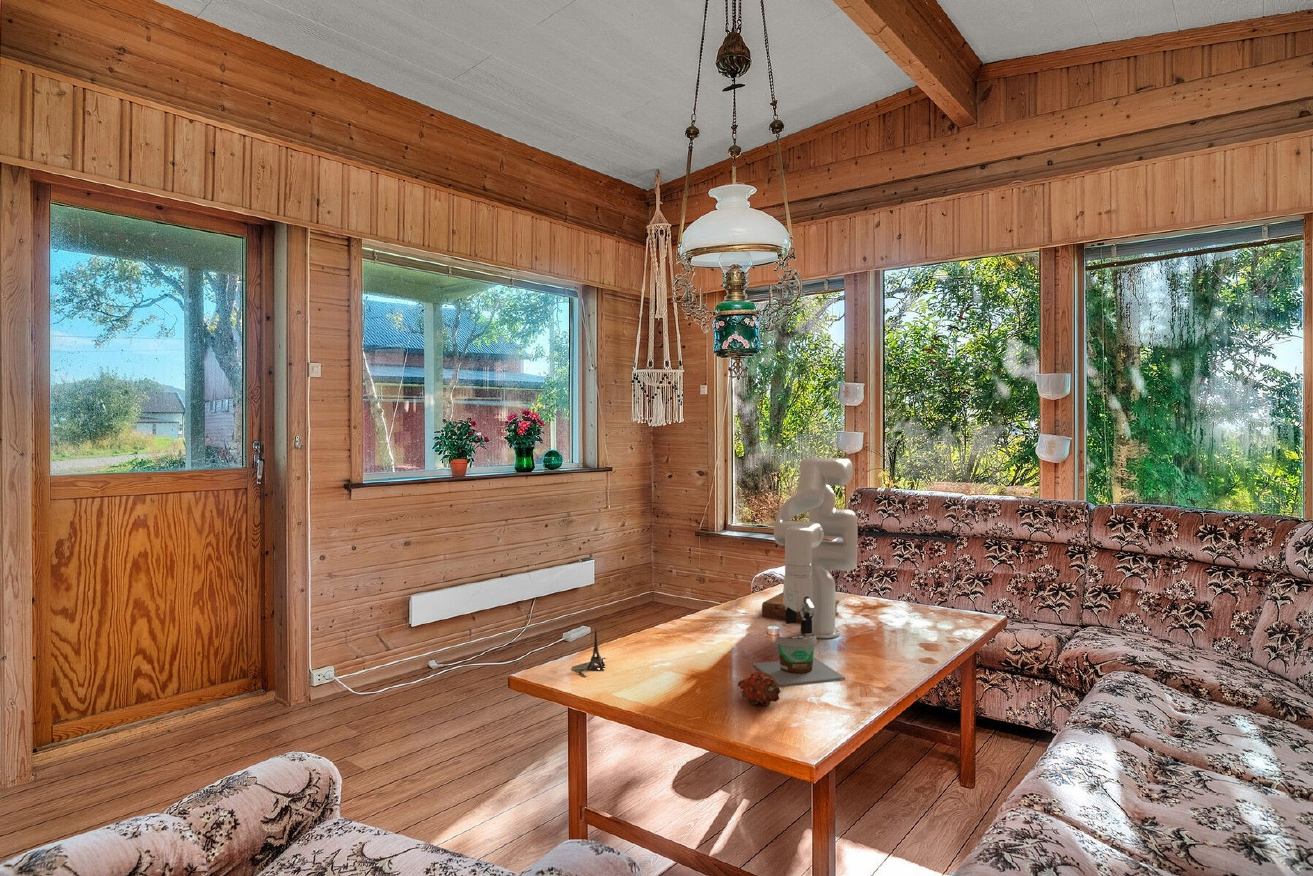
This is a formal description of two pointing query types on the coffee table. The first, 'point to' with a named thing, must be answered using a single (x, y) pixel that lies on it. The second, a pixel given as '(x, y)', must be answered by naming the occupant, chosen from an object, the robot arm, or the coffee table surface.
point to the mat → (786, 679)
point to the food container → (796, 653)
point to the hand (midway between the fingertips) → (798, 628)
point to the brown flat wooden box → (781, 608)
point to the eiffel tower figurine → (590, 665)
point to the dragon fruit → (760, 688)
